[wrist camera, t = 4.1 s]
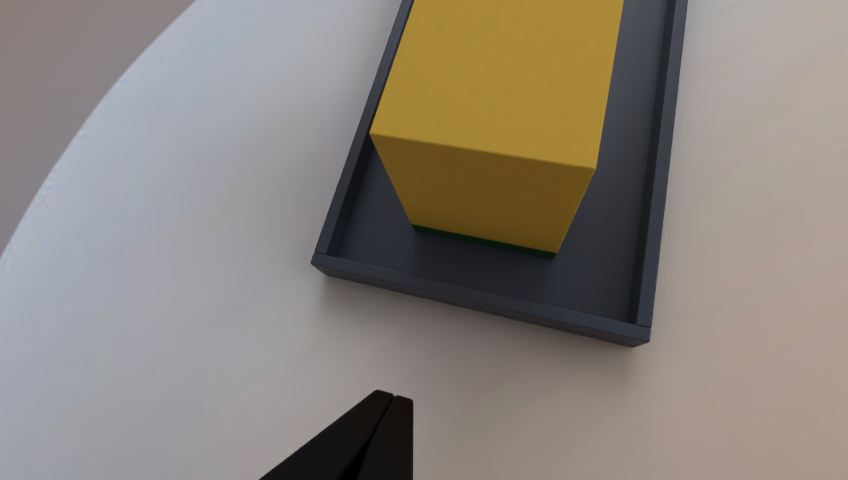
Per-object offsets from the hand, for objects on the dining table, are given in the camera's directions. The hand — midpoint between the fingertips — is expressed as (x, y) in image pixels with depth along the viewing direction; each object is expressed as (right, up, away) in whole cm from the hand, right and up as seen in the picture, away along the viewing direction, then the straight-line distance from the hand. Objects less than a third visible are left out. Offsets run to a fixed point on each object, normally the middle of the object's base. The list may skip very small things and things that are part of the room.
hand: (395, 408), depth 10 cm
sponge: (+4, +7, +13) cm, 16 cm away
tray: (+6, +12, +16) cm, 21 cm away
